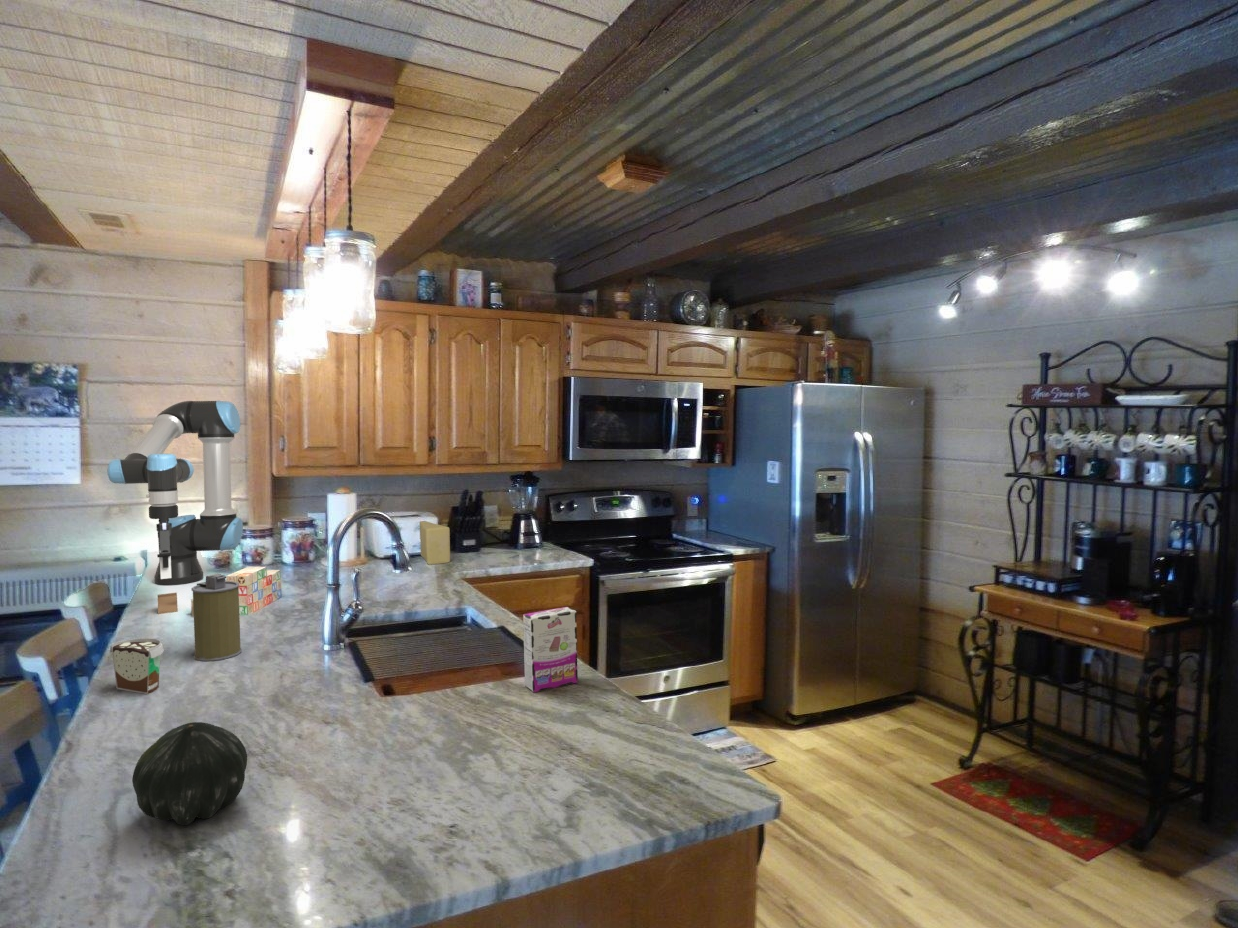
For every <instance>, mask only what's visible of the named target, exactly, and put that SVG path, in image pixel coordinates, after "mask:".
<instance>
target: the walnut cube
mask: <svg viewBox="0 0 1238 928" xmlns="http://www.w3.org/2000/svg"><path fill="white" fill-rule="evenodd" d="M177 593H178V592H169V593H161V594H157V613H158V615H162V614H171V613H178V611H179V610H178V594H177Z"/></svg>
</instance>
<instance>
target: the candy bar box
mask: <svg viewBox="0 0 1238 928" xmlns="http://www.w3.org/2000/svg"><path fill="white" fill-rule="evenodd" d="M522 622H523V623H522V624H523V652H524V653H523V658H524V659H523V660H524V661H523V663H524V665H523V666H524V686H525V688H527V689H528V690H530V691H531V692H533V693H538V692H542V691H546V690H551V689H555V688H560V687H564V686H569V685H572V684H577V683H578V682H579V681H578V680H579V679H578V676H579V675H578V673H579V671H578V669H579V668H578V630H577V629H578V628H577V627H578V626H577V623H578V622H577V611H576V610H575V609H573V608H571V607H569V606H564V607H557V608H551V609H546V610H540V611H534V612H529V613H524V614H522Z"/></svg>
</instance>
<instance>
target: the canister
mask: <svg viewBox="0 0 1238 928" xmlns="http://www.w3.org/2000/svg"><path fill="white" fill-rule="evenodd" d="M226 579H227V575H225V574H220V573H214V574H211V575H207V576H205V581H203V582H199V583H196V585H194V586H193V587H191V588H190V589H191V591H192V599H193V610H194V616H193V633H194V635H193V636H194V655H193V658H194V659H195V661H196V660H197V661H200V662H216V661H221V660H226V659H231V658H233V657H236V656H238V655H239V654H241V653H242V651H243V650H242V647H241V622H240V619H241V618H240V616H241V615H239V583H238V582H233V581H227V580H226Z"/></svg>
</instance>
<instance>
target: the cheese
mask: <svg viewBox="0 0 1238 928" xmlns="http://www.w3.org/2000/svg"><path fill="white" fill-rule="evenodd" d="M450 531H451V530H450V527H449V526H444V525H442V524H437V523H433V522H429V521H426V520H422V521H419V539H420V541H419V542H420V556H421V557H422V558H423V559H424V560H425V561H426V563H427V565H429V566H430V565H431V566H432V565H440V564H449V563H450V562H451V541H450V540H451V537H450V536H451V532H450Z"/></svg>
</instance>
